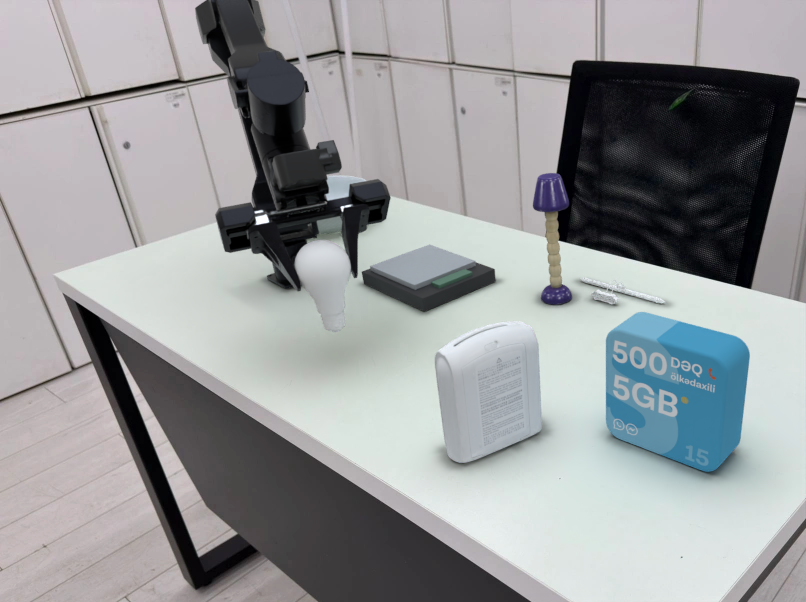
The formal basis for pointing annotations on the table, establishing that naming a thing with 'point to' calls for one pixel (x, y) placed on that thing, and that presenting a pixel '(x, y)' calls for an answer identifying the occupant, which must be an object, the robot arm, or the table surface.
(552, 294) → the toy lamp
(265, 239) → the robot arm
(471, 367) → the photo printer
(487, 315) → the table surface
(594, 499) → the table surface
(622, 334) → the data package
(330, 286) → the lightbulb
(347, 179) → the cereal bowl
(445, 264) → the scale
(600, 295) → the picture light
